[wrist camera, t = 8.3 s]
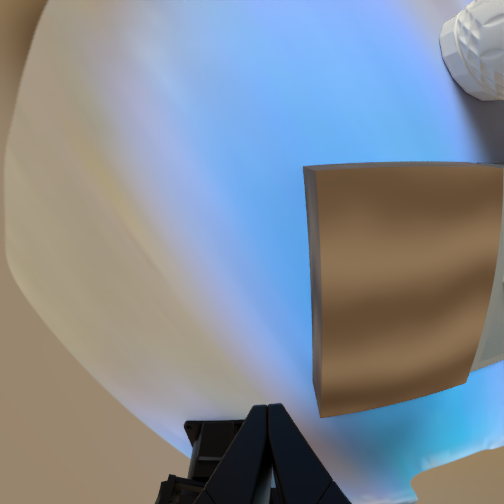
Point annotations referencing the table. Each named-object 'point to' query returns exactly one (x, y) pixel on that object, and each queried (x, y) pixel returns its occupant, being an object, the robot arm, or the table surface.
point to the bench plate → (398, 277)
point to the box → (493, 309)
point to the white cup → (476, 49)
